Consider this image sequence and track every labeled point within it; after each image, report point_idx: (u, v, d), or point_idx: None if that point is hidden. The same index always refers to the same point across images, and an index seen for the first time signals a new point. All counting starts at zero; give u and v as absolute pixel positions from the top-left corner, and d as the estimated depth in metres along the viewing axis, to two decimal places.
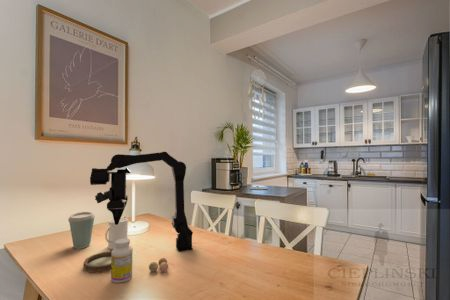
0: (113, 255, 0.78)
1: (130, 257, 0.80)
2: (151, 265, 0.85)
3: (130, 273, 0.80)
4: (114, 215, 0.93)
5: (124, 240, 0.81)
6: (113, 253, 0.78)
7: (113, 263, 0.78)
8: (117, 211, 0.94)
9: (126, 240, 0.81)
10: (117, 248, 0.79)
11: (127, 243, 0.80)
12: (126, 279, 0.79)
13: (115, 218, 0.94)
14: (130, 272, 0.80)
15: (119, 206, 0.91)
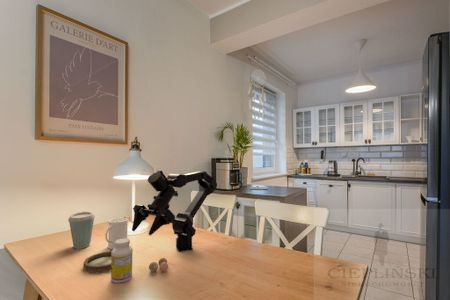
0: (113, 255, 0.78)
1: (130, 257, 0.80)
2: (151, 265, 0.85)
3: (130, 273, 0.80)
4: None
5: (124, 240, 0.81)
6: (113, 253, 0.78)
7: (113, 263, 0.78)
8: None
9: (126, 240, 0.81)
10: (117, 248, 0.79)
11: (127, 243, 0.80)
12: (126, 279, 0.79)
13: None
14: (130, 272, 0.80)
15: None
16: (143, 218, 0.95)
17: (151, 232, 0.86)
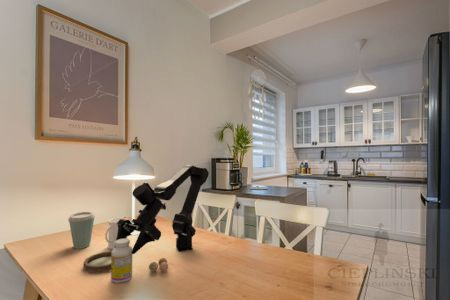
0: (113, 255, 0.78)
1: (130, 257, 0.80)
2: (151, 265, 0.85)
3: (130, 273, 0.80)
4: None
5: (124, 240, 0.81)
6: (113, 253, 0.78)
7: (113, 263, 0.78)
8: None
9: (126, 240, 0.81)
10: (117, 248, 0.79)
11: (127, 243, 0.80)
12: (126, 279, 0.79)
13: None
14: (130, 272, 0.80)
15: None
16: (128, 234, 0.89)
17: (134, 250, 0.79)
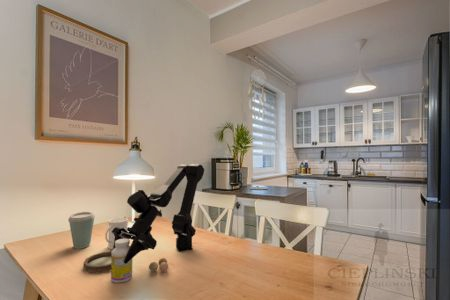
0: (113, 255, 0.78)
1: None
2: (151, 265, 0.85)
3: (130, 273, 0.80)
4: None
5: (124, 240, 0.81)
6: (113, 253, 0.78)
7: (113, 263, 0.78)
8: None
9: (126, 240, 0.81)
10: (117, 248, 0.79)
11: (127, 243, 0.80)
12: (126, 279, 0.79)
13: None
14: (130, 272, 0.80)
15: None
16: None
17: (127, 260, 0.78)
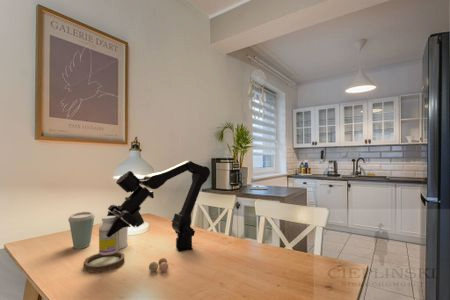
0: (99, 229, 0.85)
1: None
2: (151, 265, 0.85)
3: (114, 247, 0.86)
4: None
5: (111, 216, 0.88)
6: (99, 227, 0.86)
7: (99, 236, 0.85)
8: None
9: (112, 216, 0.88)
10: (103, 223, 0.86)
11: (111, 219, 0.86)
12: (110, 252, 0.84)
13: None
14: (114, 246, 0.86)
15: None
16: None
17: (109, 234, 0.84)
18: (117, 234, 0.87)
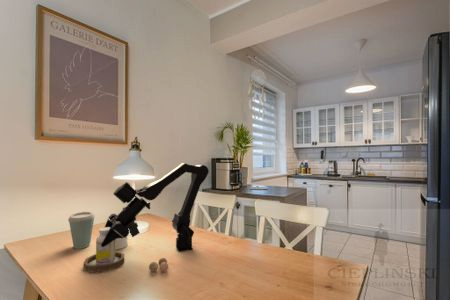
0: (96, 240, 0.90)
1: (108, 245, 0.89)
2: (151, 265, 0.85)
3: (109, 259, 0.89)
4: None
5: (107, 228, 0.92)
6: (96, 239, 0.90)
7: (96, 247, 0.90)
8: None
9: (108, 229, 0.91)
10: (100, 234, 0.90)
11: (107, 231, 0.90)
12: (104, 263, 0.88)
13: None
14: (109, 258, 0.89)
15: None
16: None
17: (103, 244, 0.87)
18: (112, 246, 0.91)
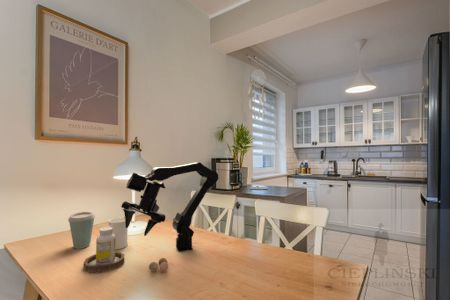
0: (96, 240, 0.90)
1: (109, 245, 0.89)
2: (151, 265, 0.85)
3: (109, 259, 0.89)
4: None
5: (108, 228, 0.92)
6: (96, 239, 0.90)
7: (96, 247, 0.90)
8: None
9: (109, 229, 0.91)
10: (100, 234, 0.90)
11: (107, 231, 0.90)
12: (104, 263, 0.88)
13: None
14: (109, 258, 0.89)
15: None
16: (133, 213, 1.02)
17: (146, 233, 0.96)
18: (112, 246, 0.91)
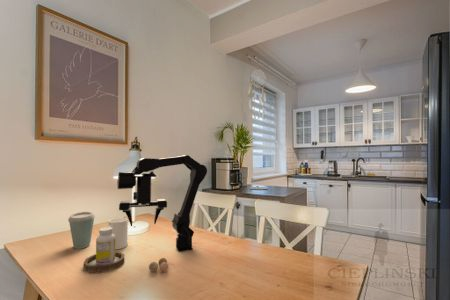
0: (96, 240, 0.90)
1: (108, 245, 0.89)
2: (151, 265, 0.85)
3: (109, 259, 0.89)
4: None
5: (107, 228, 0.92)
6: (96, 238, 0.90)
7: (96, 247, 0.90)
8: None
9: (108, 229, 0.91)
10: None
11: (107, 231, 0.90)
12: (104, 263, 0.88)
13: None
14: (109, 258, 0.89)
15: (119, 207, 0.95)
16: None
17: (155, 221, 1.01)
18: (112, 246, 0.91)
